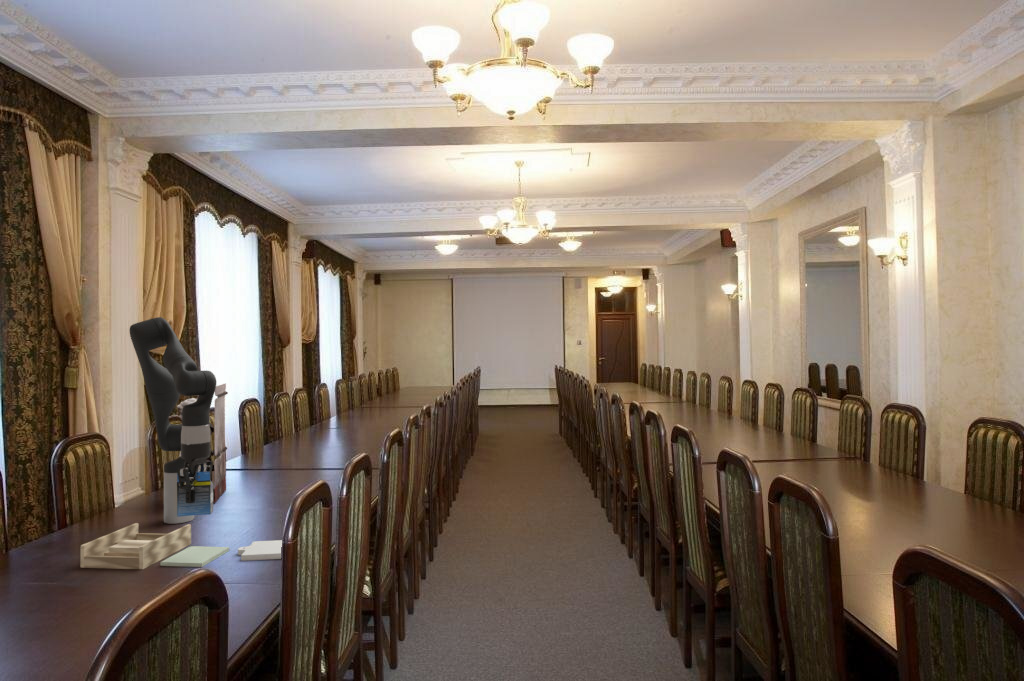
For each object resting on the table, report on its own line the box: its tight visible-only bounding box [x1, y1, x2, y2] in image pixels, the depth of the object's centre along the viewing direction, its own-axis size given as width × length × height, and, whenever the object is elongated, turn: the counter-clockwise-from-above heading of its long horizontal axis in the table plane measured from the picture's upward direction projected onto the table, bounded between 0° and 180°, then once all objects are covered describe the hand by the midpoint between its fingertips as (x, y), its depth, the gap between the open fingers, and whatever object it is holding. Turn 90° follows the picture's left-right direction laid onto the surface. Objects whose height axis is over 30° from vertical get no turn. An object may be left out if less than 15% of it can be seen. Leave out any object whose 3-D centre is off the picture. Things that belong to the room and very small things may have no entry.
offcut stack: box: [104, 540, 153, 557], centre depth 181 cm, size 7×12×4 cm, turn 86°
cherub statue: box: [176, 383, 229, 504], centre depth 253 cm, size 23×19×45 cm
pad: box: [159, 545, 230, 568], centre depth 181 cm, size 14×12×1 cm
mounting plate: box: [237, 539, 283, 562], centre depth 186 cm, size 18×13×2 cm
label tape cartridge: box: [177, 471, 214, 517], centre depth 181 cm, size 9×4×12 cm, turn 103°
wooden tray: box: [79, 522, 192, 570], centre depth 184 cm, size 22×18×6 cm
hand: (195, 500), depth 181 cm, fingers closed on label tape cartridge, 4 cm apart
